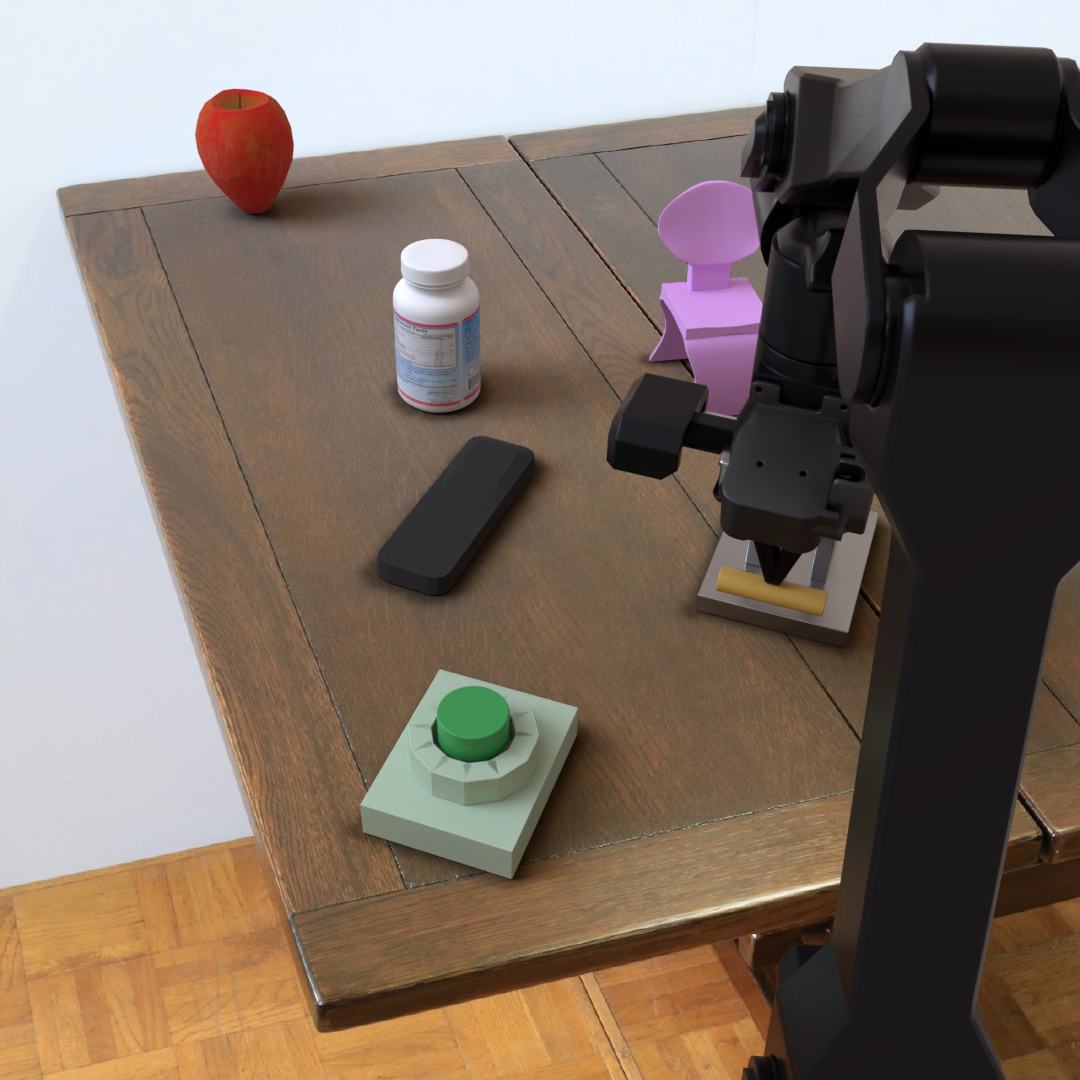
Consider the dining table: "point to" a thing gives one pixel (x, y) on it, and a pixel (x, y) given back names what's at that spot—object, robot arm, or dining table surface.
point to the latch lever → (772, 591)
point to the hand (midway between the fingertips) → (773, 580)
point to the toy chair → (712, 291)
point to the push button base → (471, 782)
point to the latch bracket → (820, 568)
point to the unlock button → (473, 723)
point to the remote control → (455, 515)
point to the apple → (245, 146)
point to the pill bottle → (437, 327)
